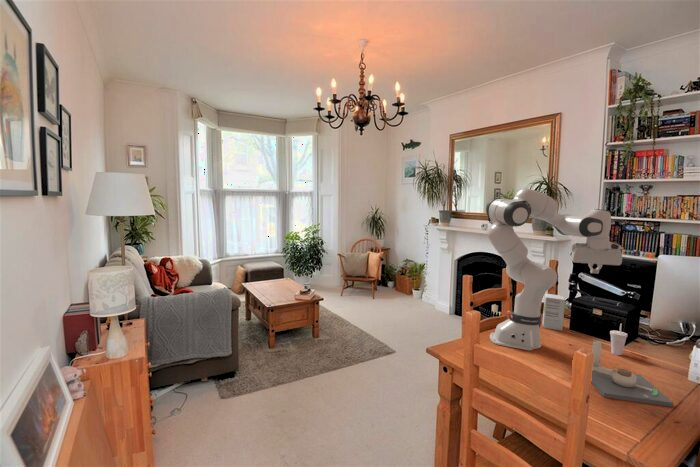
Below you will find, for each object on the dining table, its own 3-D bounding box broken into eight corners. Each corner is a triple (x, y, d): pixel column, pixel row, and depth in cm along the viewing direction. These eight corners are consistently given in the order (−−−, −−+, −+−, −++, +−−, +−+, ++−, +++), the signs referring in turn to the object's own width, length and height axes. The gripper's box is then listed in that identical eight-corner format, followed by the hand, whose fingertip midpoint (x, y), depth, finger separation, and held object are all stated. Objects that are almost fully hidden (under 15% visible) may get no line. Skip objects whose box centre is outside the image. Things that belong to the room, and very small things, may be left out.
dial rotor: (653, 387, 128) (657, 354, 127) (650, 394, 123) (654, 360, 122) (592, 369, 141) (595, 339, 140) (587, 374, 136) (590, 343, 135)
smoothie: (628, 357, 157) (631, 326, 156) (612, 355, 159) (615, 325, 157) (620, 351, 164) (623, 321, 162) (605, 350, 165) (608, 320, 164)
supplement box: (542, 322, 201) (544, 293, 199) (561, 325, 197) (563, 295, 195) (542, 327, 192) (545, 297, 190) (562, 331, 188) (565, 299, 187)
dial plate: (603, 397, 124) (604, 392, 124) (581, 370, 143) (582, 366, 143) (672, 407, 119) (673, 401, 119) (640, 378, 138) (640, 373, 138)
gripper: (574, 243, 168) (572, 272, 169) (625, 246, 163) (622, 276, 164) (570, 242, 174) (567, 270, 175) (618, 244, 169) (615, 273, 170)
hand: (594, 273), depth 169 cm, fingers closed
